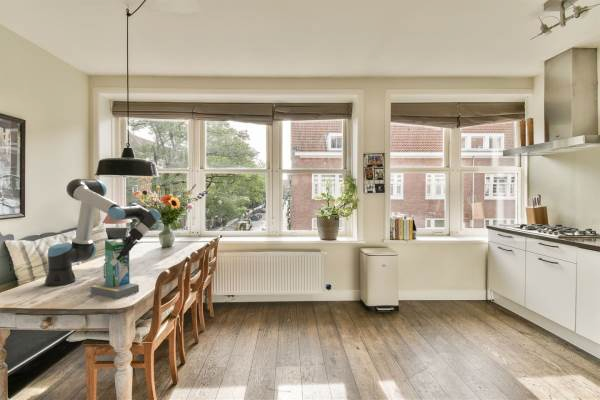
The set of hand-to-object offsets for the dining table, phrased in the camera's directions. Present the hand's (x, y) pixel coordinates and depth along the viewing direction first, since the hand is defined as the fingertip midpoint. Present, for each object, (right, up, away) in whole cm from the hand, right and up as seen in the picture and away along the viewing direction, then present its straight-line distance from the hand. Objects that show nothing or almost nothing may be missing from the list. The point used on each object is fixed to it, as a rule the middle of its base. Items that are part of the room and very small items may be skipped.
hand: (108, 262), depth 181 cm
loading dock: (+2, -17, +3) cm, 18 cm away
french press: (-10, -17, +25) cm, 31 cm away
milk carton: (+1, -13, +7) cm, 15 cm away
